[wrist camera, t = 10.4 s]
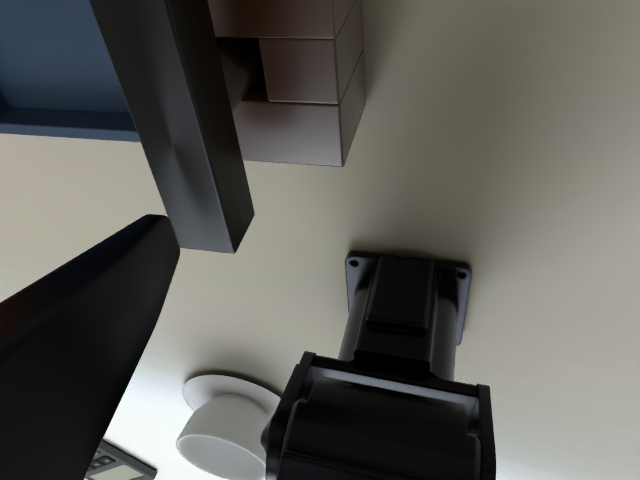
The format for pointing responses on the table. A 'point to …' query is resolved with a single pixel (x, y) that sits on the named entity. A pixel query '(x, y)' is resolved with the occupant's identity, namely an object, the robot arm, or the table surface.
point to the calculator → (117, 466)
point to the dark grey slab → (186, 111)
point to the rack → (298, 78)
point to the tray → (58, 73)
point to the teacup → (226, 426)
